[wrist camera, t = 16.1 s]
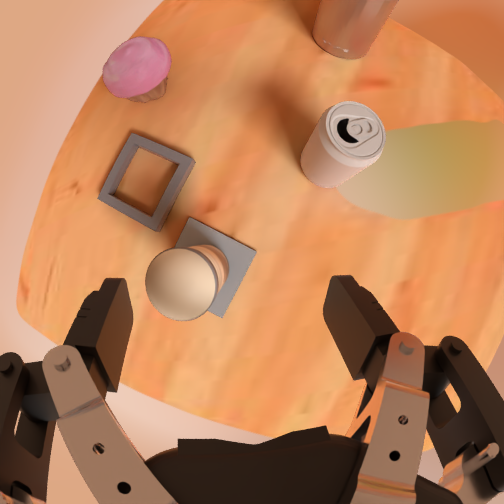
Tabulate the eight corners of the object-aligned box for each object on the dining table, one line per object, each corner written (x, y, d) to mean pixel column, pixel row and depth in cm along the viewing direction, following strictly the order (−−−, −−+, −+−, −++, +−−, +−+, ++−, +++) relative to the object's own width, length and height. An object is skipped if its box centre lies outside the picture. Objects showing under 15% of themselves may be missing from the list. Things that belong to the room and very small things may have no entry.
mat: (190, 217, 33) (189, 217, 33) (256, 251, 33) (256, 251, 33) (158, 282, 33) (157, 283, 33) (222, 317, 33) (222, 318, 33)
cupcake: (179, 59, 32) (161, 17, 22) (184, 105, 33) (164, 64, 23) (124, 77, 32) (95, 42, 22) (124, 124, 33) (90, 92, 23)
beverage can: (292, 147, 33) (310, 103, 21) (338, 136, 33) (372, 93, 21) (309, 195, 33) (337, 171, 21) (355, 182, 33) (400, 155, 21)
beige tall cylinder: (195, 235, 33) (163, 234, 21) (239, 258, 33) (229, 270, 21) (174, 277, 33) (134, 298, 21) (216, 301, 33) (195, 334, 21)
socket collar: (136, 136, 33) (131, 132, 31) (195, 162, 33) (193, 158, 31) (103, 200, 33) (97, 198, 31) (159, 231, 33) (155, 231, 32)
